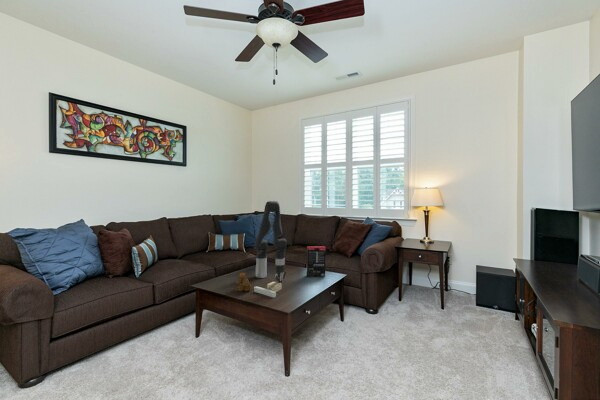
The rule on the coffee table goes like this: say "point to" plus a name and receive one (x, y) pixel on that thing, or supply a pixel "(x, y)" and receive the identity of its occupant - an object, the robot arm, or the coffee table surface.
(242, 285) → the stuffed squirrel
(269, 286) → the maple block
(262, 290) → the board
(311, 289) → the coffee table surface
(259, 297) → the coffee table surface
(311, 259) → the graphics card box
